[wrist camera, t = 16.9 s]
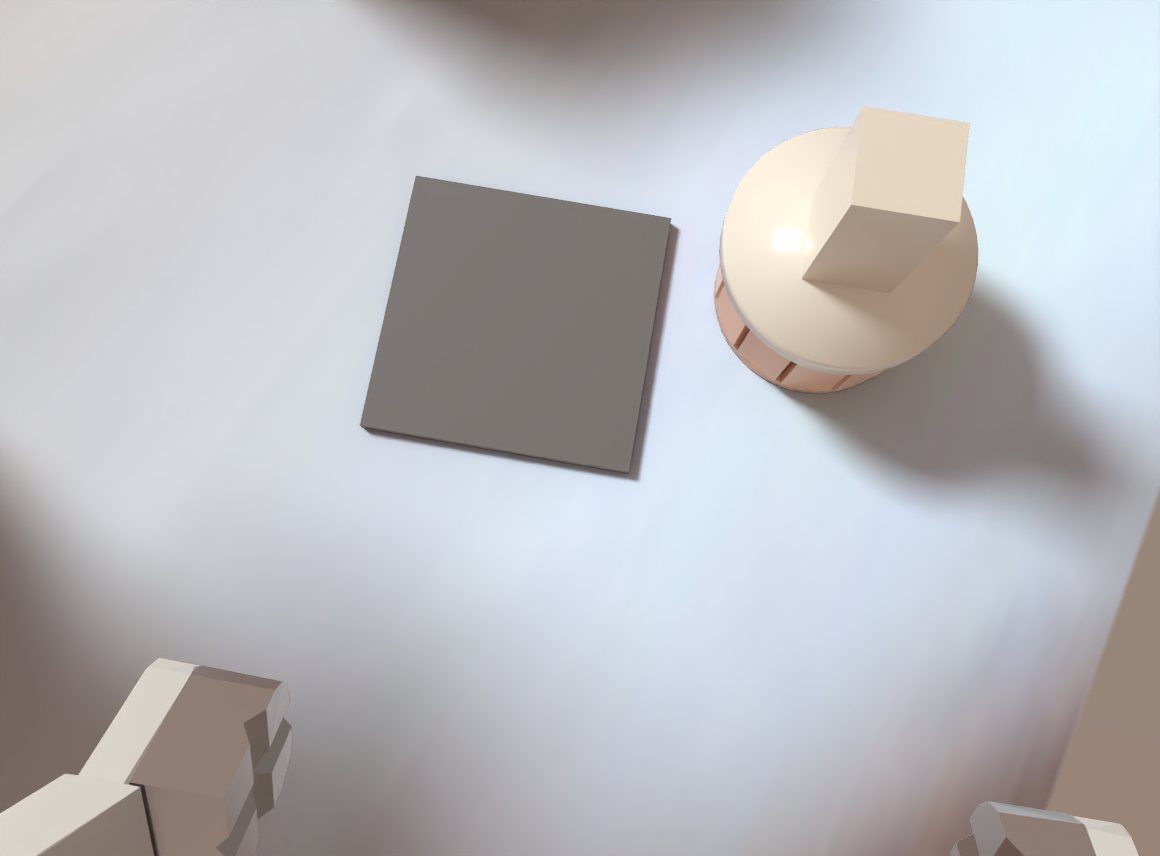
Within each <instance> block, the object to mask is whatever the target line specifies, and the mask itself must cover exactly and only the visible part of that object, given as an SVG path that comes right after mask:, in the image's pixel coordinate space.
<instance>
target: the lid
mask: <svg viewBox="0 0 1160 856" xmlns="http://www.w3.org/2000/svg"><path fill="white" fill-rule="evenodd" d="M969 124H970V123H965V122H959V121H953V120H947V119H940V118H934V117H928V116H921V115H915V114H909V113H903V112H896V111H890V110H884V109H877V108H871V107H865V106H863V108H862V109H861V111H860V113H859V115H858V116H857V118H856V120H855V122H854V123H853V125H852V127H833V128H826V129H819V130H814V131H811V132H807V133H803V134H800V135H798V136H796V137H793V138H791V139H788V140H786V141H785V142H783V143H781V144H779V145H778V146H776V147H774V148H773V149H771V150H770V151H769V152H768V153H766V154H765V155H764V156H762V157H761V158H760V159H759V160H758V161H757V162H756V163H755V164H754V165H753V166H752V167H751V168H750V170H749V171H748V172H747V174H746V175H745V176H744V178H743V179H742V180H741V182H740V184H739V186H738V188H737V189H736V191H735V193H734V195H733V198H732V201H731V203H730V206H729V208H728V211H727V214H726V216H725V219H724V222H723V227H722V231H721V236H720V249H719V253H720V267H721V272H722V277H723V282H724V285H725V288H726V290H727V293H728V296H729V298H730V300H731V302H732V304H733V306H734V308H735V310H736V312H737V313H738V315H739V316H740V318H741V319H742V321H743V322H744V324H745V325H746V326H747V327H748V328H749V329H750V330H751V332H752V333H753V334H754V335H755V336H756V337H757V338H758V339H759V340H761V341H762V342H763V343H764V344H765V345H766V346H767V347H769V348H770V349H772V350H773V351H775V352H776V353H777V354H779V355H780V356H782V357H784V358H786V359H788V360H790V361H792V362H794V363H796V364H798V365H801V366H804V367H806V368H809V369H812V370H816V371H820V372H825V373H830V374H840V375H861V374H868V373H874V372H879V371H883V370H886V369H889V368H893V367H895V366H897V365H900V364H902V363H904V362H906V361H908V360H910V359H911V358H913V357H915V356H916V355H918V354H919V353H921V352H922V351H924V350H925V349H926V348H928V347H929V346H930V345H931V344H933V343H934V342H935V341H936V340H938V339H939V338H940V337H941V336H942V335H944V334H945V333H946V331H947V330H948V329H949V328H950V327H951V326H952V325H953V324H954V323H955V321H956V320H957V318H958V317H959V315H960V314H961V312H962V311H963V309H964V307H965V305H966V303H967V301H968V299H969V297H970V295H971V292H972V289H973V286H974V282H975V278H976V272H977V266H978V243H977V235H976V230H975V226H974V222H973V218H972V216H971V213H970V211H969V208H968V206H967V203H966V201H965V200H964V198H963V196H962V195H963V185H964V175H965V165H966V155H967V145H968V134H969Z"/></svg>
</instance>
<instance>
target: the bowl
mask: <svg viewBox="0 0 1160 856" xmlns="http://www.w3.org/2000/svg"><path fill="white" fill-rule="evenodd" d="M714 298H715V309H716V314H717V319H718V322H719V325H720V328H721V331H722V333H723V335H724V337H725V339H726V341H727V343H728V344H729V346H730V347H731V349H732V350H733V352H734V353H735V354H736V355H737V356H738V358H739V359H740V360H741V361H742V362H743V363H744V364H745V365H746V366H747V367H748V368H749V369H751V370H752V371H753V372H754V373H756V374H757V375H759V376H760V377H762V378H763V379H765V380H767V381H769V382H771V383H773V384H775V385H777V386H780V387H783V388H785V389H789V390H793V391H797V392H804V393H830V392H837V391H841V390H845V389H848V388H851V387H854V386H856V385H858V384H860V383H863V382H864V381H866V380H867V379H870V378H872V377H875V376H878V375H879V374H880V373H882V372H883V371H885V370H883V371H879V372H874V373H868V374H861V375H840V374H830V373H825V372H820V371H816V370H812V369H809V368H806V367H804V366H801V365H798V364H796V363H794V362H792V361H790V360H788V359H786V358H784V357H782V356H780V355H779V354H777V353H776V352H775V351H773V350H772V349H770V348H769V347H767V346H766V345H765V344H764V343H763V342H762V341H761V340H759V339H758V338H757V337H756V336H755V335H754V334H753V333H752V332H751V330H750V329H749V328H748V327H747V326H746V325H745V324H744V322H743V321H742V319H741V318H740V316H739V315H738V313H737V312H736V310H735V308H734V306H733V304H732V302H731V300H730V298H729V296H728V293H727V290H726V288H725V285H724V282H723V277H722V272H721V267H720V266H719V269H718V272H717V277H716V281H715V292H714Z"/></svg>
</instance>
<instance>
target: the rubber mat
mask: <svg viewBox="0 0 1160 856" xmlns="http://www.w3.org/2000/svg"><path fill="white" fill-rule="evenodd" d="M670 222H671V218H666V217H660V216H654V215H648V214H642V213H636V212H630V211H624V210H618V209H612V208H606V207H600V206H594V205H588V204H582V203H576V202H570V201H564V200H558V199H552V198H546V197H540V196H534V195H528V194H522V193H516V192H510V191H504V190H498V189H492V188H486V187H480V186H474V185H468V184H462V183H457V182H451V181H445V180H439V179H433V178H427V177H421V176H416V178H415V182H414V187H413V191H412V196H411V200H410V205H409V209H408V213H407V218H406V222H405V227H404V231H403V236H402V240H401V245H400V249H399V254H398V258H397V263H396V267H395V271H394V276H393V280H392V285H391V289H390V294H389V298H388V303H387V307H386V312H385V316H384V321H383V325H382V329H381V334H380V338H379V343H378V347H377V352H376V356H375V361H374V365H373V370H372V374H371V379H370V383H369V387H368V392H367V396H366V401H365V405H364V410H363V414H362V419H361V423H360V426H361V427H363V428H369V429H374V430H380V431H386V432H392V433H397V434H403V435H409V436H415V437H420V438H426V439H432V440H438V441H443V442H449V443H455V444H461V445H466V446H472V447H478V448H484V449H489V450H495V451H501V452H507V453H512V454H518V455H524V456H530V457H535V458H541V459H547V460H553V461H558V462H564V463H570V464H576V465H581V466H587V467H593V468H599V469H604V470H610V471H616V472H622V473H627V474H628V473H629V469H630V463H631V457H632V451H633V445H634V439H635V433H636V427H637V421H638V415H639V409H640V403H641V397H642V391H643V385H644V379H645V373H646V367H647V361H648V355H649V349H650V343H651V337H652V331H653V325H654V319H655V313H656V306H657V300H658V294H659V288H660V282H661V276H662V270H663V264H664V258H665V252H666V246H667V240H668V234H669V228H670Z"/></svg>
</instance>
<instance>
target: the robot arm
mask: <svg viewBox="0 0 1160 856" xmlns="http://www.w3.org/2000/svg"><path fill="white" fill-rule="evenodd" d="M289 703H290V696H289V687H288V683H286V682H281V681H276V680H271V679H266V678H261V677H256V676H251V675H246V674H241V673H236V672H231V671H226V670H221V669H216V668H211V667H206V666H201V665H196V664H190V663H185V662H179V661H174V660H168V659H162V658H158V659H157V660H156V661H155V662H154V663H152V664H151V665H150V666H149V667H148V668H147V669H146V670H145V671H144V673H143V674H142V676H141V678H140V679H139V681H138V682H137V684H136V685H135V687H134V688H133V690H132V692H131V693H130V695H129V696H128V698H127V699H126V701H125V703H124V704H123V706H122V707H121V709H120V710H119V712H118V714H117V715H116V717H115V718H114V720H113V721H112V723H111V725H110V726H109V728H108V729H107V731H106V732H105V734H104V735H103V737H102V739H101V740H100V742H99V743H98V745H97V746H96V748H95V750H94V751H93V753H92V754H91V756H90V757H89V759H88V761H87V762H86V764H85V765H84V767H83V768H82V770H81V771H80V773H79V775H72V774H63V775H62V776H60V777H59V778H57V779H55V780H54V781H52V782H50V783H49V784H47V785H46V786H44V787H42V788H41V789H39V790H37V791H36V792H34V793H33V794H31V795H29V796H28V797H26V798H24V799H23V800H21V801H20V802H18V803H16V804H15V805H13V806H11V807H10V808H8V809H6V810H5V811H3V812H2V813H0V856H254V854H255V851H256V849H257V847H258V844H259V830H258V818H260V817H261V816H263V815H264V814H265V813H267V812H268V811H269V810H271V809H272V808H274V806H275V804H276V801H277V799H278V796H279V794H280V791H281V789H282V787H283V784H284V780H285V776H286V773H287V769H288V765H289V762H290V756H291V747H292V727H291V726H290V725H289V723H288V722H287V721H286V720H285V719H284V718H283V717H284V714H285V712H286V710H287V708H288V705H289ZM970 821H971V825H972V829H973V832H974V834H972V835H970V836H968V837H966V838H964V839H962V840H959V841H957V842H956V844H955V846H954V848H953V849H952V851H951V853H950V855H949V856H1139V855H1138V853H1137V850H1136V848H1135V846H1134V843H1133V841H1132V839H1131V837H1130V834H1129V833H1128V832H1127V831H1126V830H1125V828H1123V826H1122V825H1121V824H1117V823H1112V822H1106V821H1100V820H1094V819H1087V818H1082V817H1075V816H1071V815H1070V814H1065V813H1059V812H1052V811H1046V810H1039V809H1033V808H1027V807H1020V806H1014V805H1008V804H1001V803H995V802H988V801H987V802H985V803H983V804H981V805H979V806H978V807H977V809H976V810H975V812H974V814H973V815H972V817H971V818H970Z"/></svg>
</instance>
